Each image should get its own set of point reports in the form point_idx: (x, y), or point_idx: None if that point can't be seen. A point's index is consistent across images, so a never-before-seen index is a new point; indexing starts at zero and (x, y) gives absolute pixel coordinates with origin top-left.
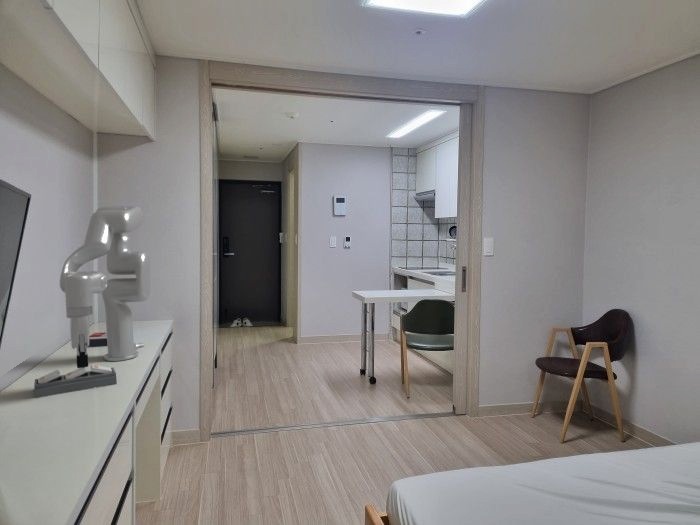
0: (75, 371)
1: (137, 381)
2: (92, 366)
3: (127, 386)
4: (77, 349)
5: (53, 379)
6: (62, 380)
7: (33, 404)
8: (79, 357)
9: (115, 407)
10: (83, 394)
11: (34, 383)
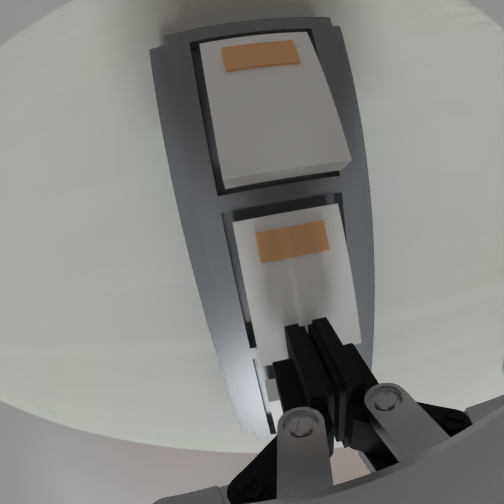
0: (304, 288)
1: (243, 451)
2: None
3: (192, 433)
4: (279, 492)
5: None
6: (211, 202)
7: (59, 96)
8: (305, 404)
9: (6, 389)
10: (128, 303)
11: (221, 24)
